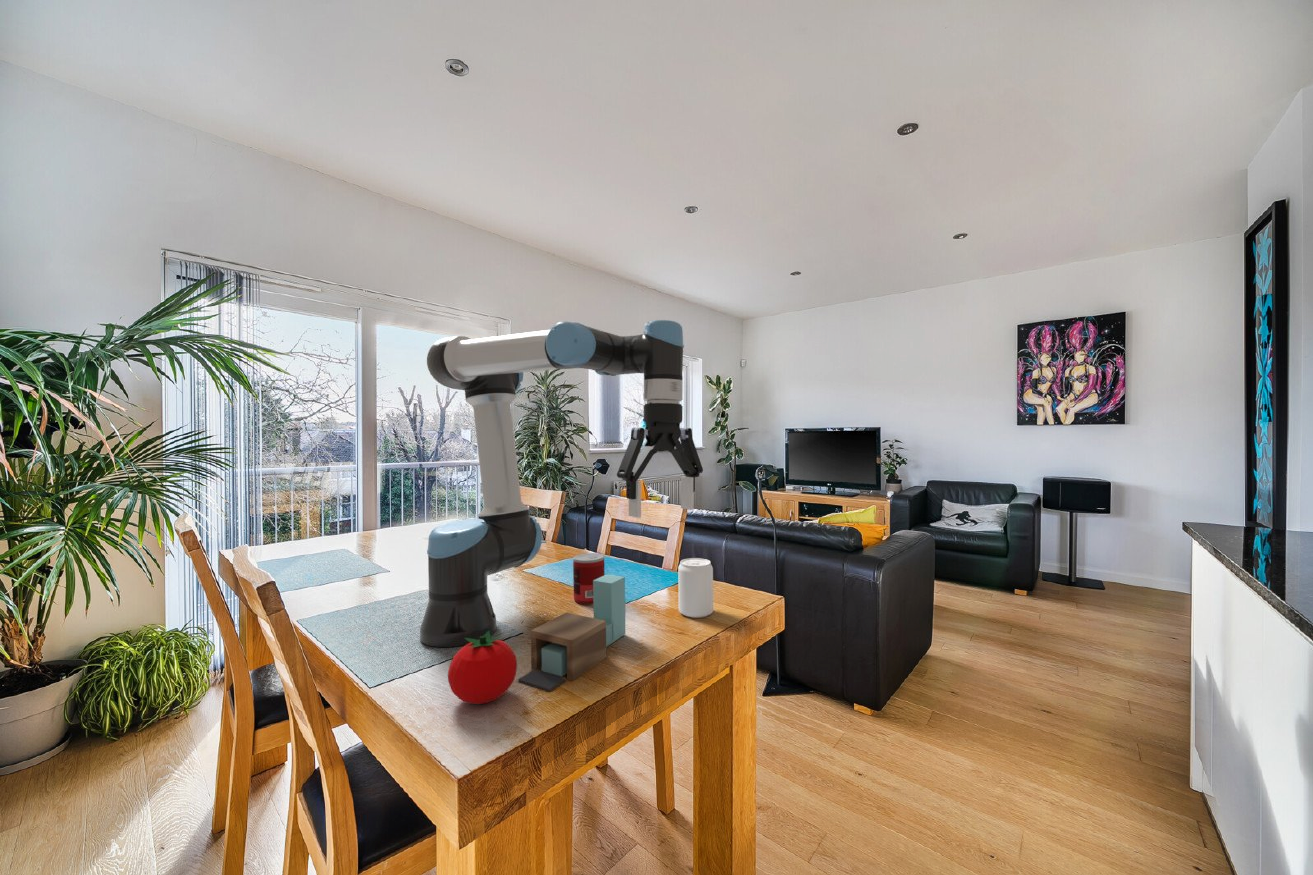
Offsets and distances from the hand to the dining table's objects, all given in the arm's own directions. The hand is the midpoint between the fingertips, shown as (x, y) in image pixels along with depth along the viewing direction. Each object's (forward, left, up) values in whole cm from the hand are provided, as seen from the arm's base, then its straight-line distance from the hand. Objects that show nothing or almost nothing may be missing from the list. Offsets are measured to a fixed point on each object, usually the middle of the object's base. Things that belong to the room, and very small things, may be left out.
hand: (662, 512), depth 96 cm
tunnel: (-13, -13, -27) cm, 32 cm away
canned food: (-31, +17, -27) cm, 45 cm away
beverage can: (-3, +21, -27) cm, 35 cm away
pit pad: (-13, -20, -27) cm, 36 cm away
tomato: (-17, -29, -27) cm, 43 cm away
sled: (-13, -7, -27) cm, 30 cm away
